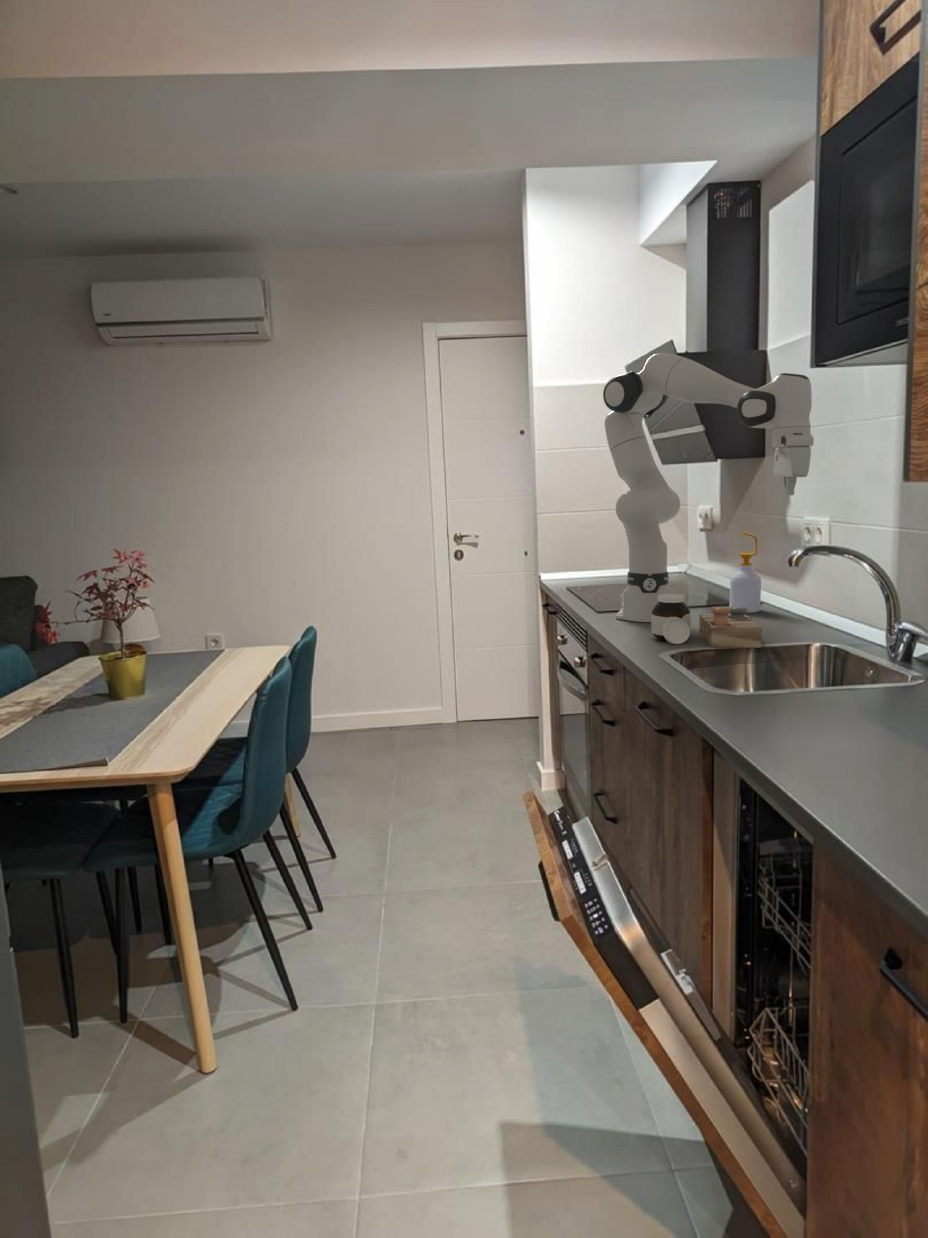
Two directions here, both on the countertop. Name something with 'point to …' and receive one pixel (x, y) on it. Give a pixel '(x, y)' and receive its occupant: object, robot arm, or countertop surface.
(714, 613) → the terracotta plug
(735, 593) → the soap bottle
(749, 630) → the oak block
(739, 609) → the grey plug
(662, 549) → the robot arm
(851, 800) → the countertop surface
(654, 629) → the spread jar
